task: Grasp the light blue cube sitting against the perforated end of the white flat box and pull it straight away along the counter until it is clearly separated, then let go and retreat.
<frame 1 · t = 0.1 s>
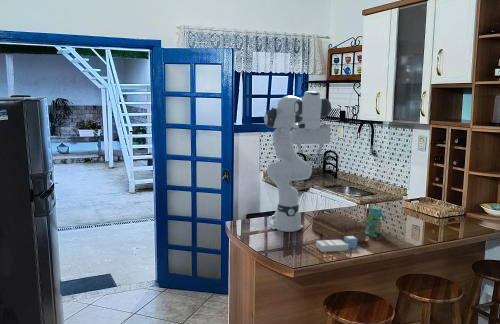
hand: (309, 152, 221), 48 cm above the countertop, fingers open, 8 cm apart
light blue cube: (350, 242, 227), point 3 cm above the countertop, slide at 0.0 cm
bread: (337, 235, 248), on the countertop
toy: (374, 234, 250), on the countertop
white flat box: (331, 248, 226), on the countertop
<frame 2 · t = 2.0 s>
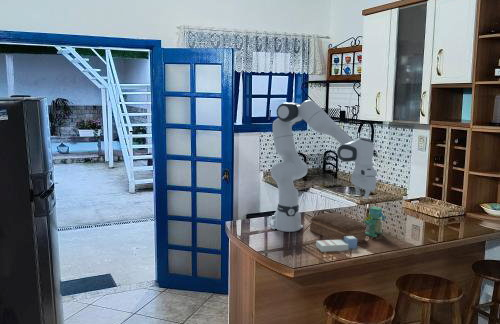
hand: (361, 196, 231), 25 cm above the countertop, fingers open, 8 cm apart
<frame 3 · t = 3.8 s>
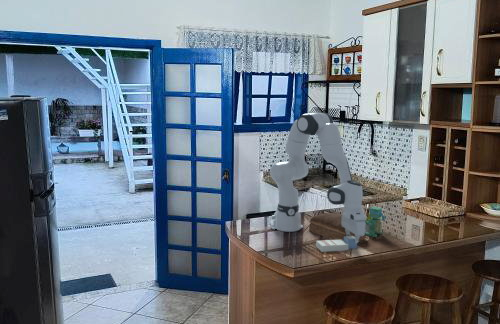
hand: (352, 239, 226), 4 cm above the countertop, fingers open, 8 cm apart
bread: (336, 235, 248), on the countertop, touching gripper
everything else where it was.
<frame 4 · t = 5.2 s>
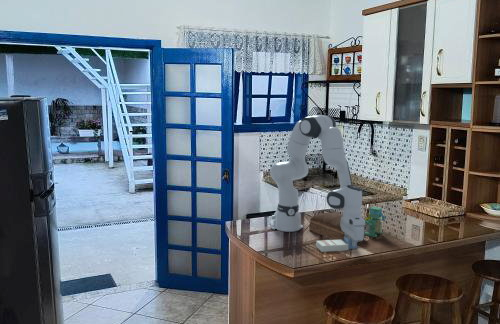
hand: (350, 244, 227), 2 cm above the countertop, fingers closed on light blue cube, 5 cm apart
light blue cube: (350, 242, 227), point 3 cm above the countertop, slide at 0.1 cm, touching gripper
bread: (335, 235, 248), on the countertop
everything else where it was.
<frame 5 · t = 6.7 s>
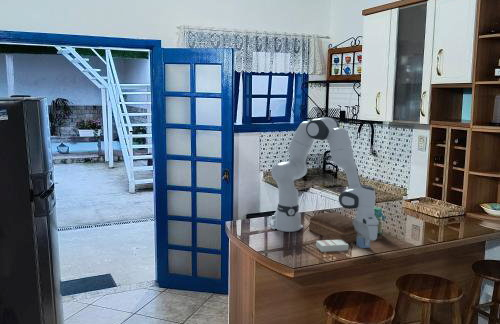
hand: (363, 243, 229), 2 cm above the countertop, fingers closed on light blue cube, 5 cm apart
light blue cube: (363, 241, 229), point 3 cm above the countertop, slide at 7.2 cm, touching gripper
everything else where it was.
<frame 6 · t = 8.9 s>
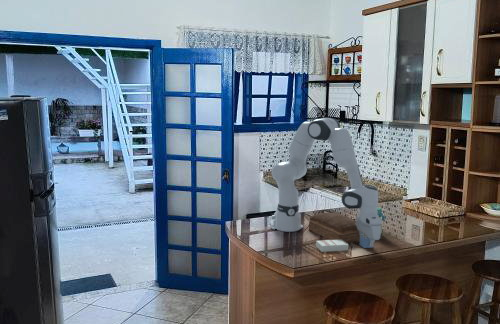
hand: (366, 243, 229), 2 cm above the countertop, fingers open, 8 cm apart
light blue cube: (366, 241, 229), point 3 cm above the countertop, slide at 8.9 cm
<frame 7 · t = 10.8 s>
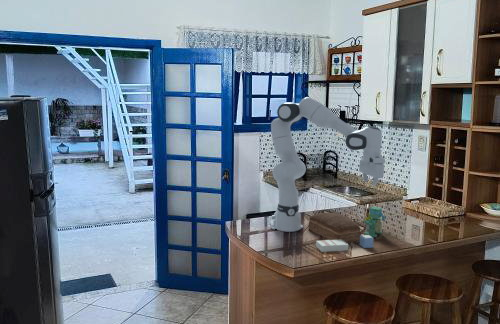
hand: (369, 183, 236), 31 cm above the countertop, fingers open, 8 cm apart
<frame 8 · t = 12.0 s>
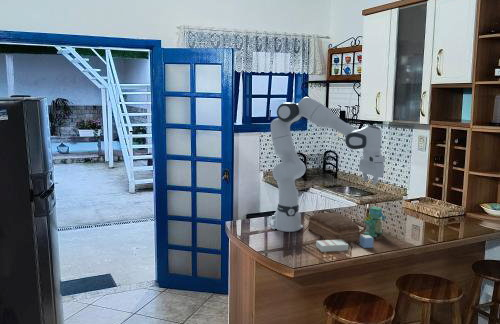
hand: (369, 182, 236), 31 cm above the countertop, fingers open, 8 cm apart
at the end: light blue cube slide at 8.9 cm; the gripper is holding nothing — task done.
